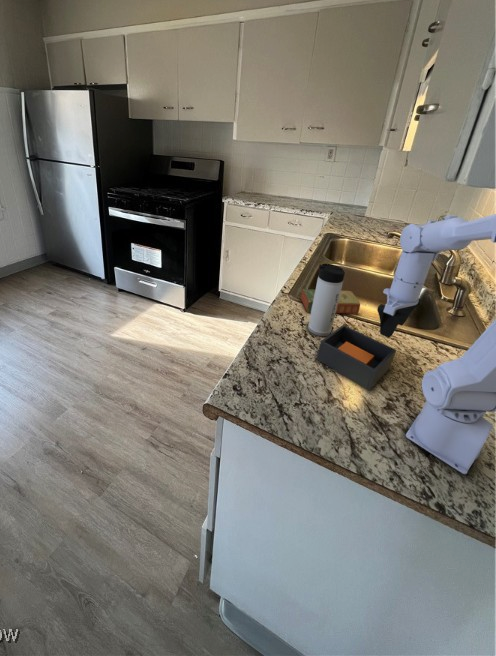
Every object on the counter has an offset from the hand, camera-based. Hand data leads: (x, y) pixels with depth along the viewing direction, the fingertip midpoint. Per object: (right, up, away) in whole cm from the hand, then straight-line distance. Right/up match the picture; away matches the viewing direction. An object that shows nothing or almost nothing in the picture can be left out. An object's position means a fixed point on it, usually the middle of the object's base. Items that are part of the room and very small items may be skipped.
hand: (391, 329), depth 75 cm
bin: (-8, -9, +3) cm, 12 cm away
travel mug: (-12, -3, +15) cm, 20 cm away
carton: (-5, +2, +27) cm, 27 cm away
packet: (-8, -8, +2) cm, 12 cm away
